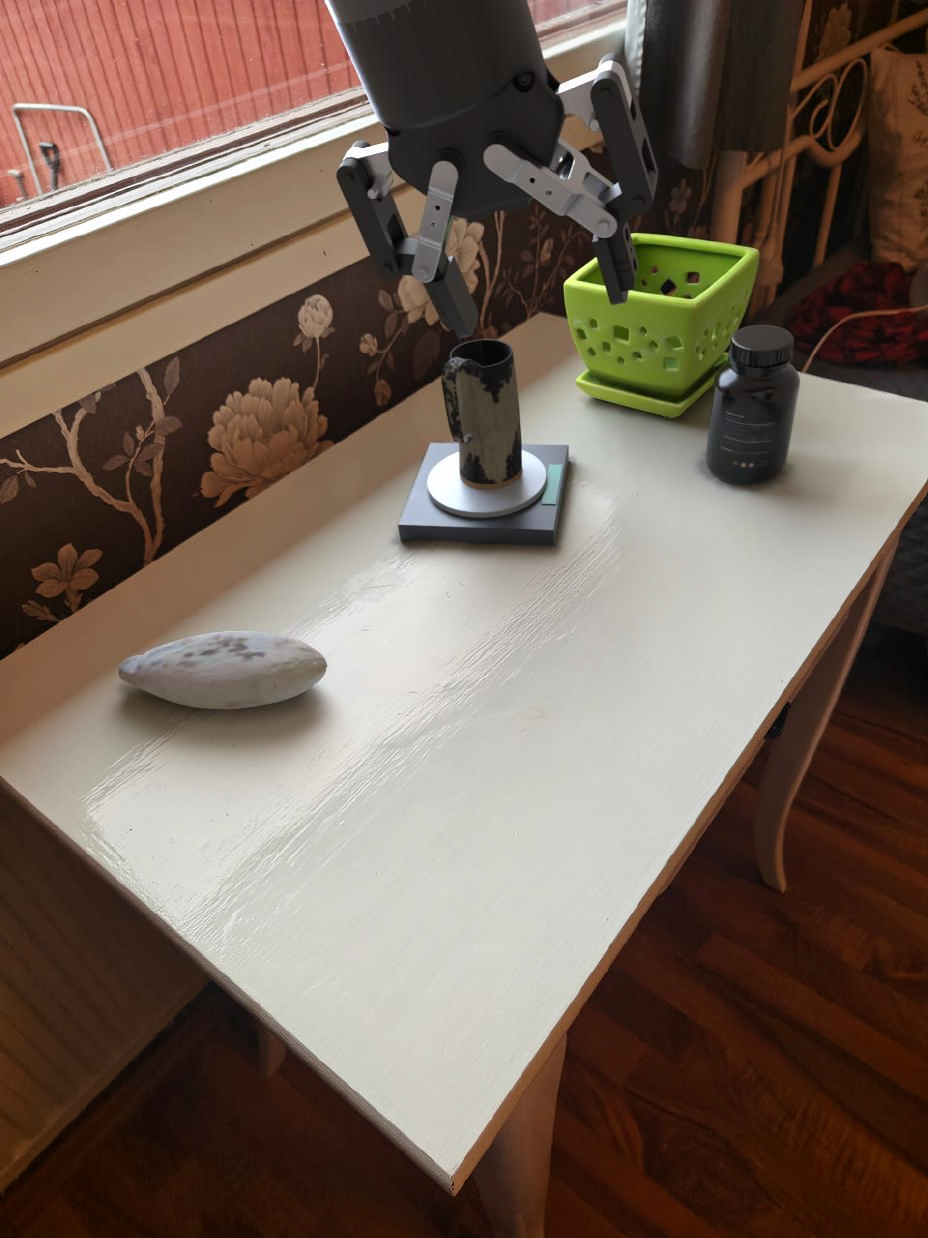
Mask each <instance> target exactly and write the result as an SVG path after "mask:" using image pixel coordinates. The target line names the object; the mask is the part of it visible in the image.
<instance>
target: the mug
mask: <svg viewBox="0 0 928 1238" xmlns="http://www.w3.org/2000/svg"><path fill="white" fill-rule="evenodd" d="M449 353H450V354H449V360H448V361H447V362H445V364H444V366H443V368H442V371H441V377H440V380H441V388H442V389H441V390H442V395H443V402H444V408H445V413H446V417H447V423H448V427H449V431H450V434H451V437H452V440H453V442H454V443H459V473H460V479H461V480H462V481H463V483H464V484H466V485H467V486H469V487H472V488H475V489H480V490H495V489H501V488H504V487H507V486H509V485H511V484H513V483H515V482H516V481H517V480H518V479H519V478H520V477H521V475H522V471H523V469H522V444H523V442H522V428H521V425H522V424H521V411H520V400H519V391H518V380H517V372H516V365H515V358H514V351H513V347H512V346H511V345H510V344H509V343H507V342H506V341H503V340H499V339H493V338H492V339H491V338H481V339H475V340H470V341H465V342H463V343H461V344H459V345H457V346H455V347H454V348H453V349H452V350H451V352H449Z"/></svg>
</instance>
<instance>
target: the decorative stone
mask: <svg viewBox="0 0 928 1238" xmlns="http://www.w3.org/2000/svg"><path fill="white" fill-rule="evenodd" d="M327 668H328V663H327V661H326V658H325V657H324V655H323V654H322V653H321V652H320V651H318V649H315V648H314V647H313V646H310V645H309V644H307V643H306V642H304V641H302V640H301V639H296V638H293V637H289V636H285V635H281V634H274V633H269V632H262V631H253V630H224V631H215V632H207V633H203V634H197V635H192V636H187V637H185V638H182V639H178V640H176V641H175V640H174V641H172V642H168V643H165V644H162V645H159V646H156V647H154V648H151V649H149V650H147V651H145V652H144V653H143V654H135V655H133V656H130V657H128V658H126V659H125V660H123V661H122V662H121V663H120V665H118V669H117V671H118V677H119V679H121V680H122V681H123V682H126V683H127V684H130V685H132V686H137V687H138V688H139V689H140V690H142V691H144V692H146V693H149V694H150V695H153V696H156V697H157V698H160V699H164V700H166V701H169V702H171V703H174V704H178V705H182V706H185V707H191V708H198V709H207V710H237V709H238V710H239V709H244V708H245V709H246V708H255V707H260V706H261V707H262V706H265V705H270V704H276V703H281V702H284V701H287V700H290V699H292V698H295V697H297V696H299V695H301V694H303V693H305V692H307V691H309V690H310V689H311V688H313V687H314V686H315V685H316V684H317V683H319V682H320V681H321V679H323V678H324V676H325V674H326V672H327Z"/></svg>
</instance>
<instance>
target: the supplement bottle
mask: <svg viewBox="0 0 928 1238" xmlns="http://www.w3.org/2000/svg"><path fill="white" fill-rule="evenodd" d="M794 341H795V339H794V335H793V334H792V333H791V332H790V331H789V330H787V329H785V328H782V327H779V326H776V325H771V324H755V325H749V326H743V327H741V328H738V329H737V331H736V332H734V334H732V336H731V340H730V344H729V347H728V348H729V349H728V351H727V353H728V361H727V362H726V363H724V364H723V365H722V366H721V367H720V368H719V369H718V371H717V372H716V374H715V376H714V381H713V385H712V389H711V399H710V400H711V401H710V409H709V410H710V411H709V421H708V431H707V441H706V451H705V452H706V453H705V462H706V466H707V468H708V470H709V471H710V473H711V474H713V475H714V476H715V477H716V478H718V479H720V480H722V481H723V482H727V483H729V484H734V485H741V486H755V485H756V486H757V485H761V484H765V483H768V482H770V481H772V480H774V479H776V478H777V477H778V476H780V475H781V474H782V473H783V472H784V469H785V468H786V465H787V460H788V455H789V450H790V444H791V438H792V433H793V426H794V421H795V416H796V415H795V414H796V409H797V403H798V397H799V391H800V384H801V378H800V375H799V373H798V371H797V368H795V367H794V366H793V364H792V361H793V357H794V353H793V349H794Z"/></svg>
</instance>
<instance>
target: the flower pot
mask: <svg viewBox="0 0 928 1238" xmlns="http://www.w3.org/2000/svg"><path fill="white" fill-rule="evenodd" d="M631 237H632V241H633V246H634V248H635V253H636V256H637V260H638V269H637V274H636V279H635V284H634V289H633V290H629V292H628V297H627V302H626V303H622V304H617V305H611V304H610V301H609V298H608V294H607V291H606V288H605V284H604V281H603V278H602V274H601V271H600V267H599V264H598V261H597V257H596V256H595V257H594V258H593V259H592V260H590V261H589V262H587V263H586V264H585V265H584V266H582V267H581V268H579V269H578V270H577V271H575V273H573V274H571V275H570V277H568V278H567V279H566V280H565V281H564V283H563V297H564V305H565V311H566V318H567V322H568V326H569V330H570V333H571V337H572V339H573V342H574V345H575V347H576V350H577V352H578V354H579V357H580V358H581V360H582V362H583V363H584V365H585V367H586V368H587V369H586V370H585V371H583V372H582V373H581V374H580V375H578V376H577V378H576V379H575V385H576V386H577V387H578V389H580V390H581V391H582V392H583V393H585V394H586V395H588V396H590V397H591V398H594V399H596V400H602V401H605V402H608V403H613V404H616V405H620V406H624V407H628V408H632V409H635V410H640V411H643V412H647V413H650V414H655V415H660V416H663V418H664V419H666V420H673V419H675V418H677V417H679V416H680V415H682V414H683V413H684V412H686V410H688V408H690V407H691V406H692V405H693V404H694V403H695V402H696V401H697V400H698V399H699V398H700V397H701V396H702V395H703V394H705V392H707V390H709V389H710V388H711V387H713V381H714V376H715V374H716V372H717V371H718V369H719V368H720V367H721V366H722V365H723V364H724V363H726V362H727V361H728V352H726V350H727V349H728V348H729V347H730V340H731V336H732V334H734V332H736V331H737V330H739V327H740V325H741V323H742V320H743V318H744V315H745V314H746V311H747V308H748V305H749V302H750V299H751V296H752V292H753V289H754V285H755V282H756V277H757V272H758V268H759V263H760V257H761V256H760V251H759V249H757V248H753V247H749V246H744V245H738V244H733V243H727V242H720V241H713V240H712V241H711V240H705V239H697V238H689V237H683V236H682V237H681V236H673V235H664V234H654V233H653V234H652V233H639V232H635V233H634V232H633V233H631ZM653 267H656V268H657V272H653ZM689 273H697V274H698V275H699V280H698V282H697V283H696V282H695V283H694V282H691V283H689V282H688V274H689ZM643 280H645V285H643ZM668 280H669V281H671V282H672V283H673V284H674V285H675V288H676V289H675V291H674V292H673V294H672V295H671V296H669V295H665V294H664V293H663V292H662V290H661V289H662V286H663V285H664V284H665V282H667V281H668ZM687 296H689V297H690V298H685V297H687Z"/></svg>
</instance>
